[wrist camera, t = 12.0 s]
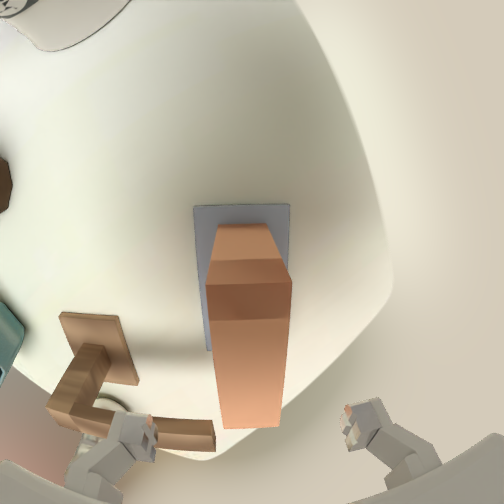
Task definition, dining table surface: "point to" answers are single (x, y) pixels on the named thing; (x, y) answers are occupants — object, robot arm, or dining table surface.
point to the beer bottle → (4, 185)
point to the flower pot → (9, 340)
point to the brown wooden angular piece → (114, 371)
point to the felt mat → (234, 214)
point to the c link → (248, 324)
